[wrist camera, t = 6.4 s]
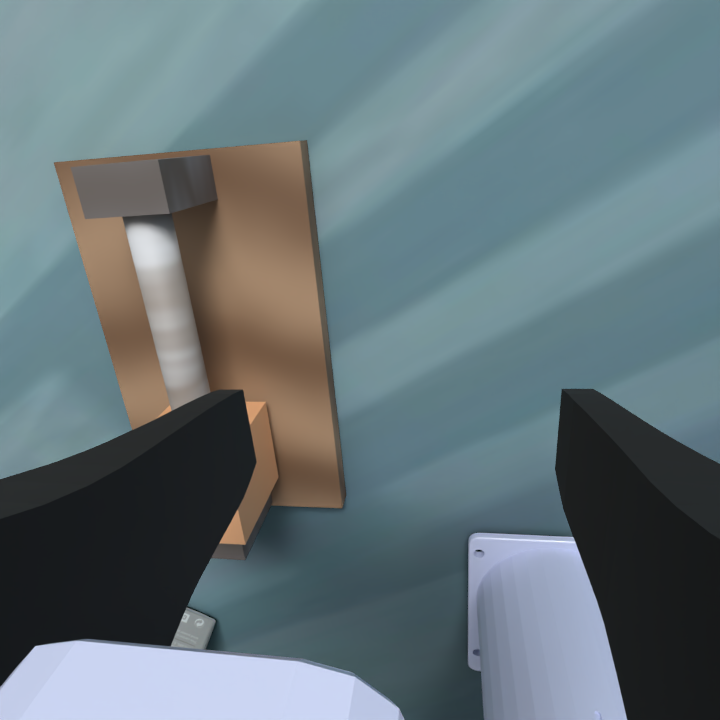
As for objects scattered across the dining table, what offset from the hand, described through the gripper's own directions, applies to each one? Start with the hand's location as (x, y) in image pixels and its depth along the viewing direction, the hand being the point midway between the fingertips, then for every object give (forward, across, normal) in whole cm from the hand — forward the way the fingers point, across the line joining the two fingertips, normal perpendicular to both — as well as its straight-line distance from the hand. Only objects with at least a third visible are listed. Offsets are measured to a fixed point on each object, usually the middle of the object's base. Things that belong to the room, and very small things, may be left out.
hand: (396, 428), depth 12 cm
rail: (+10, +9, +2) cm, 14 cm away
